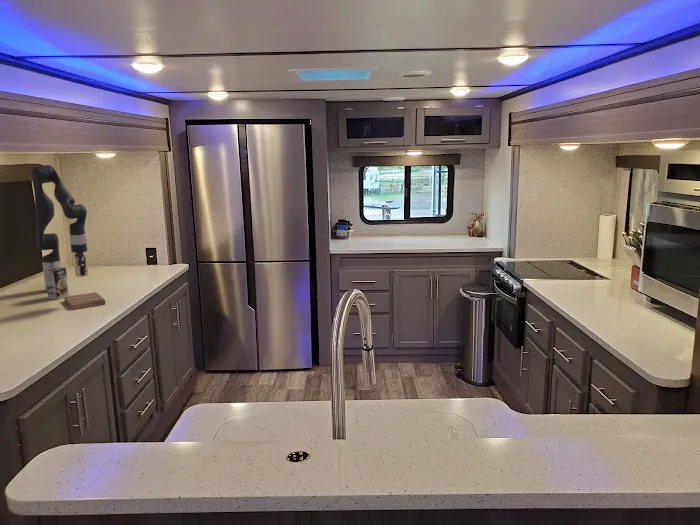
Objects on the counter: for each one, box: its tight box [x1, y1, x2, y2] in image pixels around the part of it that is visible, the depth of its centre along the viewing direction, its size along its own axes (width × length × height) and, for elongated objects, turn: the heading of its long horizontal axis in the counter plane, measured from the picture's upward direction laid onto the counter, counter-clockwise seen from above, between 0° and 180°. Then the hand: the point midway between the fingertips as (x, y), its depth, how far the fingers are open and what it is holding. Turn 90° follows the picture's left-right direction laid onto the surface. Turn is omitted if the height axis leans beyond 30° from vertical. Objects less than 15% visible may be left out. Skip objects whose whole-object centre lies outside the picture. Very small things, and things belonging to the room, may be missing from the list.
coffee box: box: [45, 267, 70, 300], centre depth 304 cm, size 9×6×16 cm
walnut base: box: [63, 291, 106, 311], centre depth 294 cm, size 20×16×2 cm
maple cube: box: [74, 264, 89, 278], centre depth 291 cm, size 5×5×5 cm
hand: (81, 274), depth 291 cm, fingers closed on maple cube, 5 cm apart
